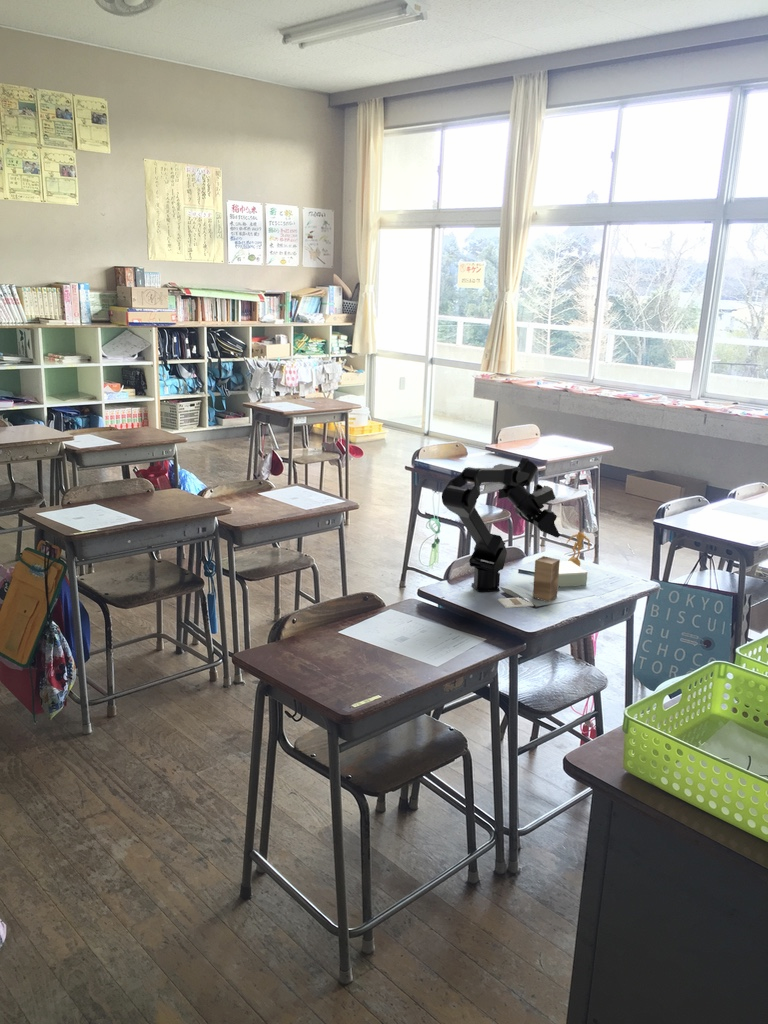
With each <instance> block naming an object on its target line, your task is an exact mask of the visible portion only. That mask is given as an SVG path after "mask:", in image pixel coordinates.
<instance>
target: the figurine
mask: <svg viewBox="0 0 768 1024" xmlns="http://www.w3.org/2000/svg"><path fill="white" fill-rule="evenodd" d="M573 538H576V542H574V545H573V547H572V548H571V549H572V552H573V554H572V556H571V557H570V558H569V559H568V560H567V561H572V562H573V563H575V564H576V565H578V566H579V567H581V561H580V559H579V557H580V553H581V549H582V547H583V545H584V544H583V543H582V542H583V540H585V541H587V546H588V547H587V550H588V551H589V550H591V549H590V547H591V546H590V545H591V543H590V542H591V540H590V538H588V537H587V536H586V535H585V533H584V532H582V531H578V532H577V533H576V534H573V535H572V536H570V538H568V540H567V541H566V543H565V545H567V544H568V542H570V541H571V540H572V539H573ZM576 549H577V552H576ZM576 553H577V556H575V555H576Z"/></svg>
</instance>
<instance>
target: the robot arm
mask: <svg viewBox="0 0 768 1024" xmlns="http://www.w3.org/2000/svg"><path fill="white" fill-rule="evenodd" d="M538 470H539V468H538V466H537V465H536V464H535V463H534V462H533V461H530V460H529V458H528V457H527V458H526V457H522V458H521V459H520V461H519V463H518V465H517V466H516V465H515V466H514V465H510V464H503V463H499V464H497V465H496V464H495V465H493V466H492V467H489V468H488V467H471V466H468V467H465V468H464V469H463V470H462V471H461V473H460V474H458V475H457V476H456V477H454V478H452V479H450V480H449V482H448V483H447V485H446V486H445V488H444V489H443V490H442V493H441V502H442V504H443V505H444V506H443V507H445V508H446V509H447V510H449V511H450V512H452V513H454V514H455V515H457V516H458V518H459V519H460V521H461V522H462V524H463V525H464V527H465V528H466V530H467V532H468V534H470V537H471V538H472V539H473V541H474V543H475V544H474V545H475V546H474V549H473V552H472V555H471V556H470V557H469V567H473V568H474V571H473V573H474V574H473V582H472V583H471V586H472V587H473V588H474V589H475V590H476V591H477V592H479V593H483V592H484V593H485V592H498V591H500V588H499V587H500V580H501V579H500V578H501V577H500V576H501V573H500V572H499V571H501V570H503V569H504V567H505V563H506V559H507V555H508V552H507V548H506V542H504V541H503V538H502V536H501V535H499V534H493V533H490V531H489V529H488V527H487V526H486V524H485V522H484V520H483V519H482V517H481V516H480V513H479V511H478V510H477V509H476V505H477V501H478V499H479V497H480V496H481V487H480V486H481V484H482V483H483V484H484V483H485V484H486V483H489V484H490V483H493V484H494V483H495V484H499V485H503V487H502V488H499V489H498V497H497V499H498V500H503V499H505V498H506V499H507V500H508V501H509V502H510V503H511V504H512V506H513V507H514V508H515V509H514V511H515V514H516V515H517V516H518V517H519V518H521V519H522V520H523V521H526V522H528V523H530V524H532V525H533V526H534V527H536V529H537V530H538V531H540V532H541V533H545V534H547V535H550V536H552V537H555V538H557V539H558V538H560V536H561V535H560V533H559V532H560V531H559V530H558V528H557V525H556V524H555V521H556V520H557V518H558V516H557V515H556V513H555V512H553V511H552V510H550V509H548V508H545V509H543V508H544V507H545V504H546V503H548V502H551V501H553V500H556V495H555V493H554V489H553V488H552V487H550V486H548V485H541V484H539V483H537V484H535V485H534V486H533V491H532V493H531V492H529V491H528V490H527V489H526V487H529V486H530V484H531V483H532V481H533V480H534V477H535V476H536V474H537V473H538ZM468 483H473V485H474V486H472V488H467V487H463V486H465V485H466V484H468ZM542 509H543V510H542Z"/></svg>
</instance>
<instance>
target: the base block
mask: <svg viewBox="0 0 768 1024" xmlns="http://www.w3.org/2000/svg"><path fill="white" fill-rule="evenodd" d="M587 583H588V571H587V570H585V569H583V567H581V566H580V567H579V566H578V565H576V564H575V563H573V562H572V561H568V560H560V563H559V576H558V588H559V586H560V587H577V586H578V587H579V586H587Z"/></svg>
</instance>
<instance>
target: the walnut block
mask: <svg viewBox="0 0 768 1024" xmlns="http://www.w3.org/2000/svg"><path fill="white" fill-rule="evenodd" d="M560 561H561V559H558V558H554V557H548V556H541V557H539V558H537V559H535V560H534V574H533V588H532V598H533V597H536V598H539V599H538V600H540V599H542V600H541V601H544V600H545V601H544V602H551V601H553V600H555V599H556V598H557V597H558V588H559V587H558V576H559V563H560ZM536 598H535V599H536Z"/></svg>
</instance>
